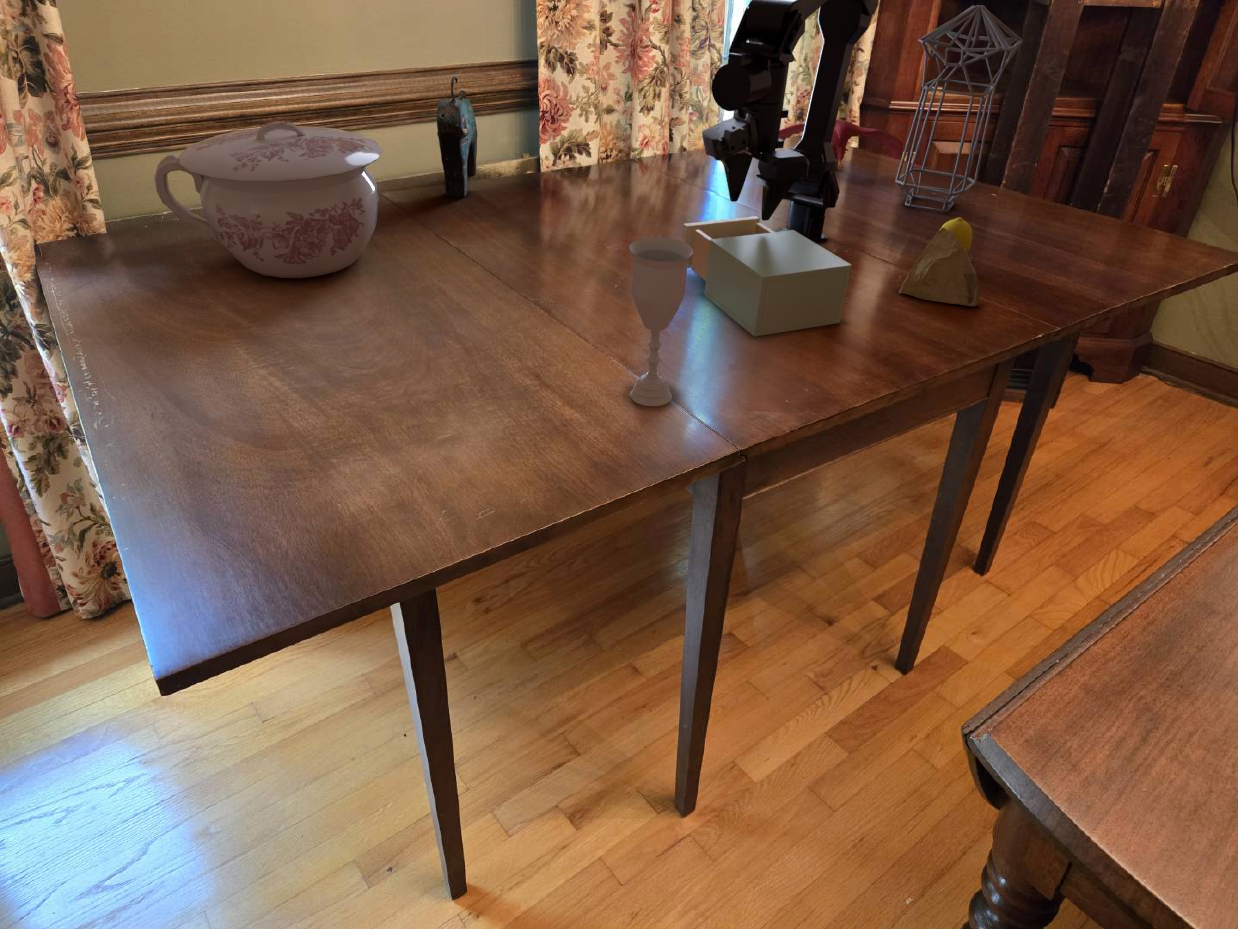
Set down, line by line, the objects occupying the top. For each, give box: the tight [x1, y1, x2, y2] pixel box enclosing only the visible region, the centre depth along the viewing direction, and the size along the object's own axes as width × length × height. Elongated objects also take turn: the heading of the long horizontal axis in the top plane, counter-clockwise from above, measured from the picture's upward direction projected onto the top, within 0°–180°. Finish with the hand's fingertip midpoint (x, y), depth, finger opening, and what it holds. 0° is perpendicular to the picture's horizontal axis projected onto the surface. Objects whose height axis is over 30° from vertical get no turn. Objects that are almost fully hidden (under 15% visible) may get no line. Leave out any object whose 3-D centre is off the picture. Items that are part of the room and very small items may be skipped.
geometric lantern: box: [894, 4, 1023, 213], centre depth 154 cm, size 16×16×35 cm
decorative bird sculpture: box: [779, 119, 904, 170], centre depth 182 cm, size 28×9×15 cm
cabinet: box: [704, 230, 853, 338], centre depth 117 cm, size 15×14×9 cm
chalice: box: [628, 236, 693, 407], centre depth 93 cm, size 7×7×18 cm
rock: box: [898, 227, 981, 307], centre depth 123 cm, size 11×9×10 cm
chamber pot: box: [153, 120, 384, 279], centre depth 121 cm, size 28×28×21 cm
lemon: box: [938, 216, 973, 254], centre depth 135 cm, size 6×6×8 cm
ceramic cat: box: [436, 76, 478, 198], centre depth 158 cm, size 20×6×20 cm, turn 179°
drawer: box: [681, 215, 775, 282], centre depth 127 cm, size 18×13×7 cm
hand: (749, 210), depth 125 cm, fingers open, 9 cm apart
